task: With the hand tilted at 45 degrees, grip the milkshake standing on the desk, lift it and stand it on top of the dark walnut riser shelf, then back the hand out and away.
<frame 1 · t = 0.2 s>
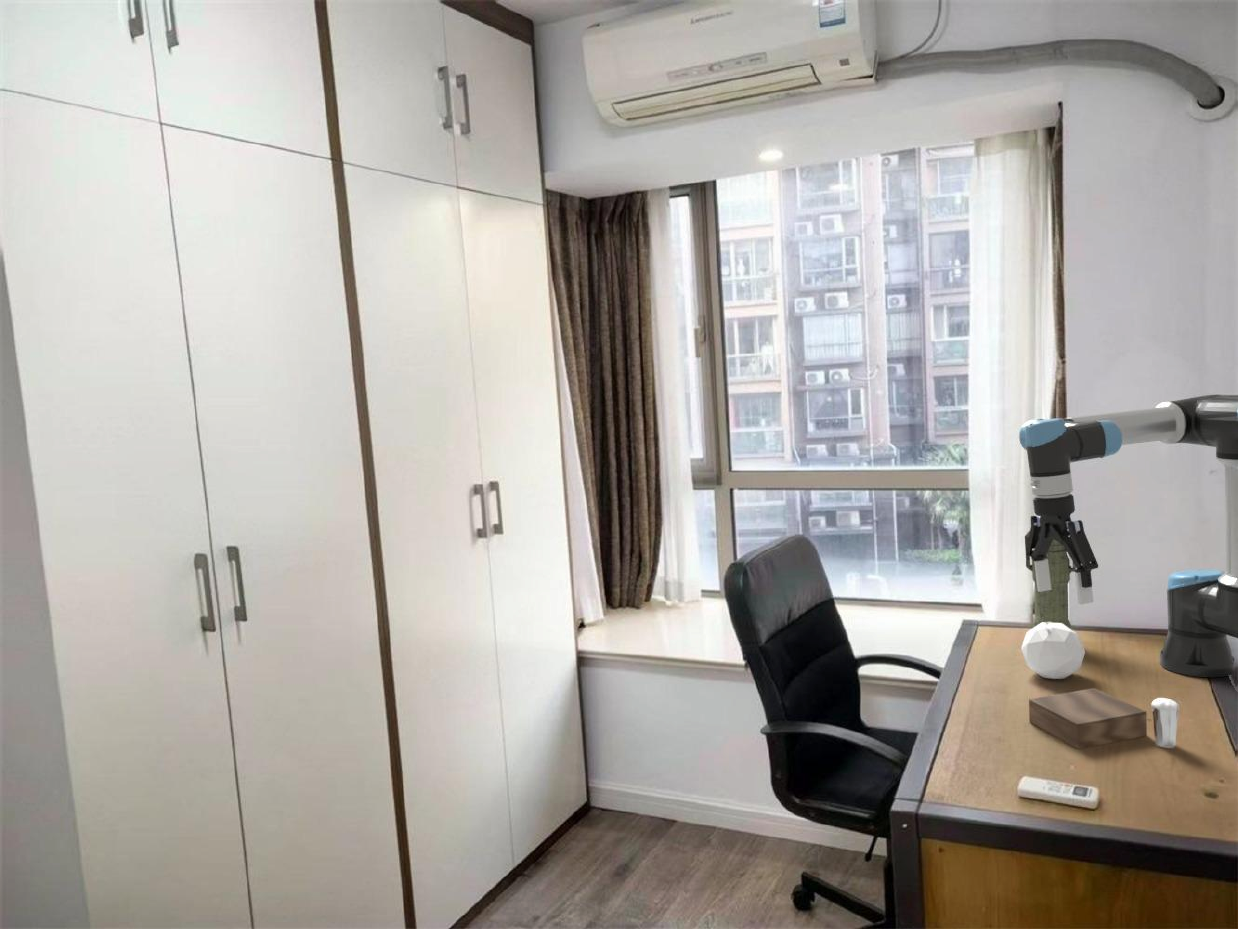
hand: (1064, 596, 184), 27 cm above the table, tool pointing down, fingers open, 13 cm apart
milkshake: (1167, 746, 173), on the table
geodesic sphere: (1053, 677, 212), on the table
walnut riser: (1086, 728, 183), on the table
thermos: (1051, 645, 234), on the table
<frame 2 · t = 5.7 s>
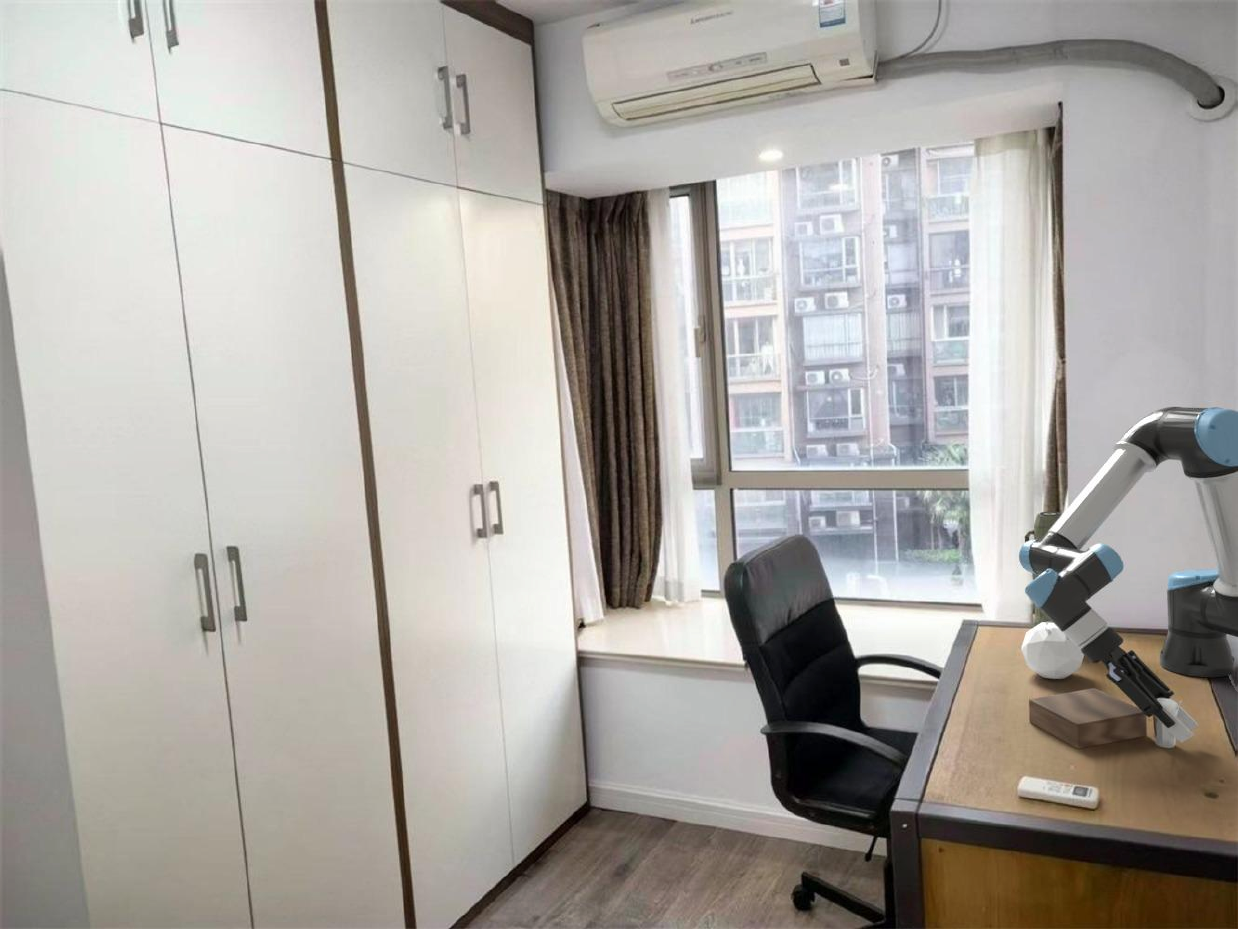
hand: (1189, 733, 170), 3 cm above the table, tool tilted 45°, fingers closed on milkshake, 5 cm apart
milkshake: (1167, 746, 173), on the table, touching gripper
everything else where it was.
when the fingers open (10 cm above the table, at t = 10.1 s): milkshake drops 1 cm, resting on walnut riser.
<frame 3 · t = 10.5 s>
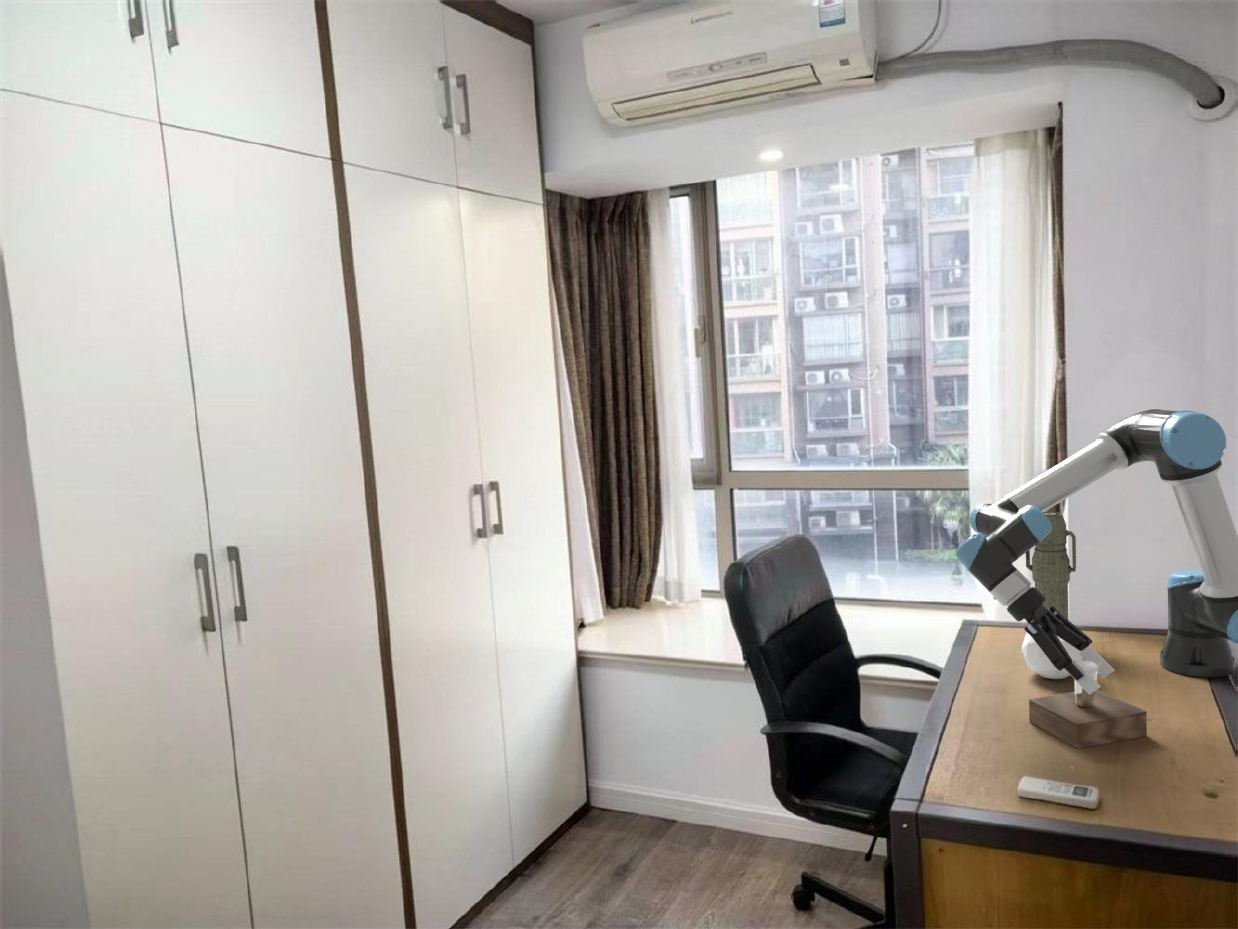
hand: (1102, 682, 179), 10 cm above the table, tool tilted 45°, fingers open, 10 cm apart
milkshake: (1085, 705, 182), point 5 cm above the table, touching walnut riser
everything else where it was.
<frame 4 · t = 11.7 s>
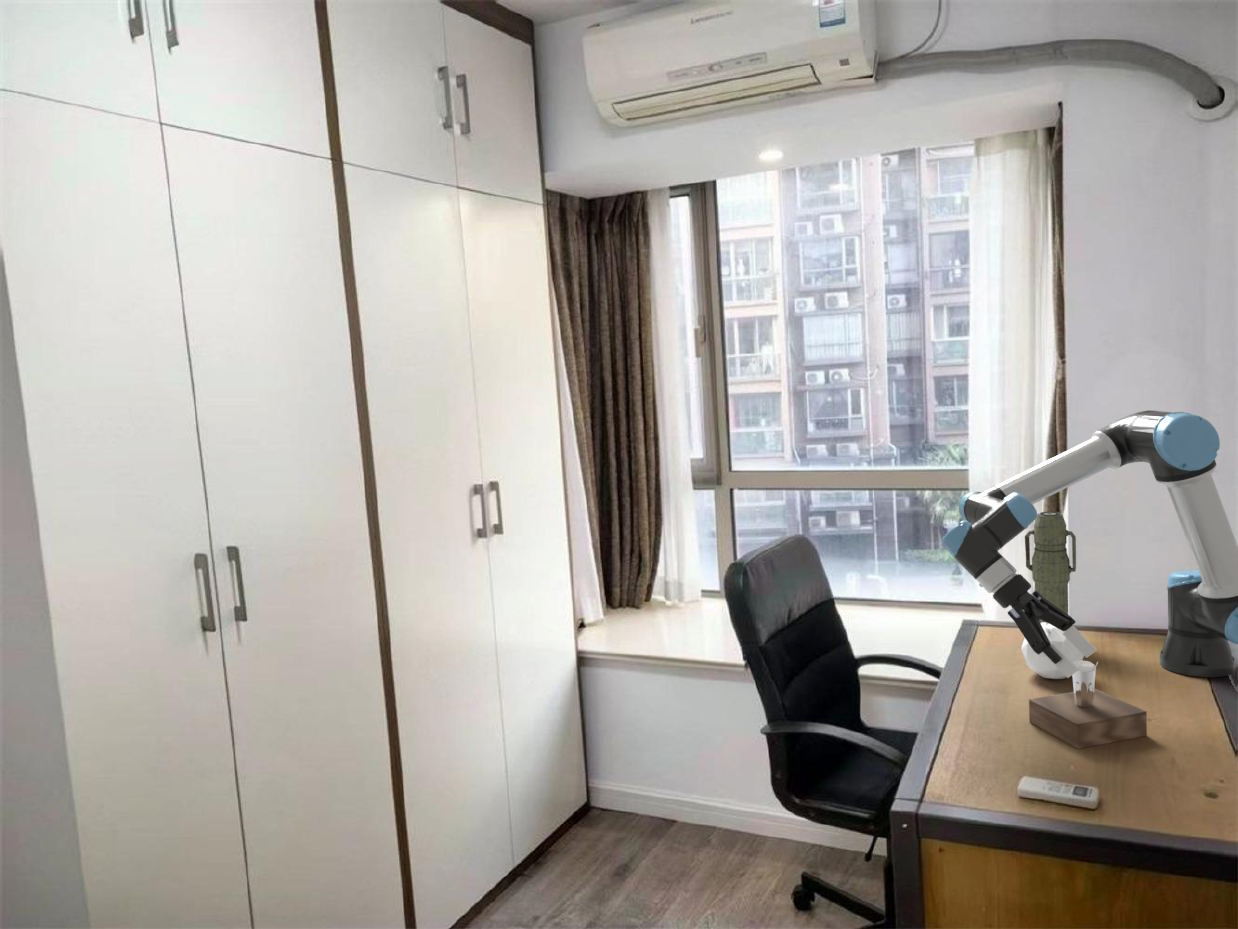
hand: (1083, 663, 181), 14 cm above the table, tool tilted 45°, fingers open, 13 cm apart
nothing on the table moved.
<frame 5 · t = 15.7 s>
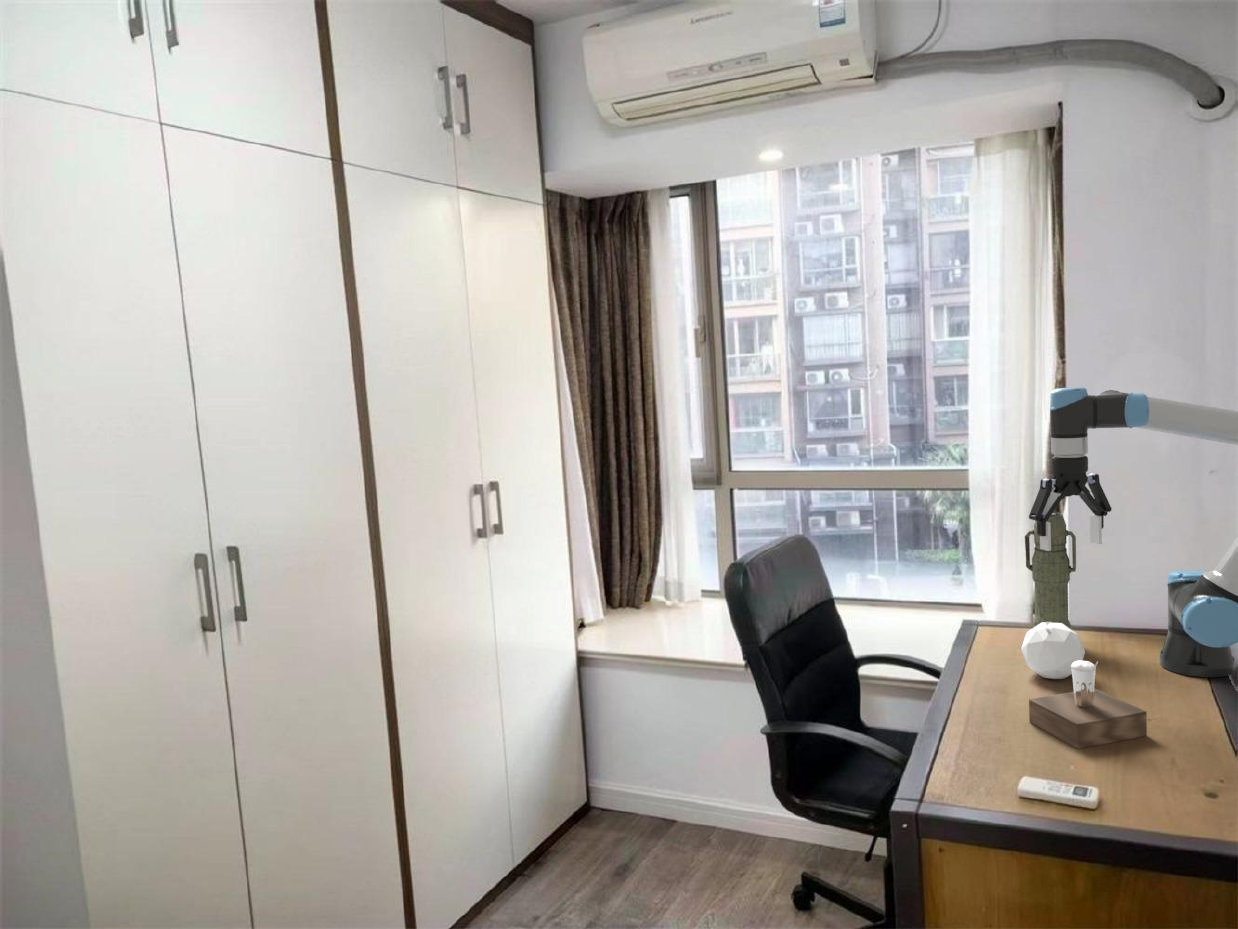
hand: (1070, 546, 206), 32 cm above the table, tool pointing down, fingers open, 13 cm apart
nothing on the table moved.
at the end: milkshake inside the target area (0.1 cm from its centre), point 4.8 cm above the table; milkshake tilted 0°; the gripper is holding nothing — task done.
